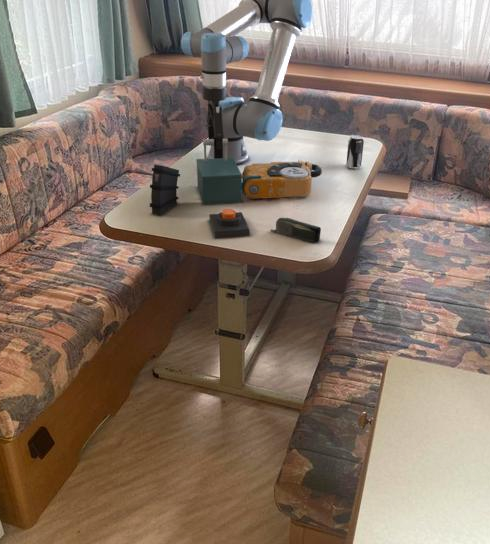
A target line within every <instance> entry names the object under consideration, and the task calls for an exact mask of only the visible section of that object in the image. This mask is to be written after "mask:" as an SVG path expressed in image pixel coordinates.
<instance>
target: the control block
mask: <svg viewBox="0 0 490 544" xmlns="http://www.w3.org/2000/svg"><path fill="white" fill-rule="evenodd" d="M235 212H236V217H235V218H234V219H224V218H222V211H221V212H219V213H209V215H208V217H209V219H208V220H209V223H210V224H209V225H210V227H211V230H212V233H213V235H214V239H223V238H236V237H237V238H238V237H248V236H250V228H249V226H248V223H247V221H246V219H245V216H244V214H243V212H242V211H238V212H237V211H235Z"/></svg>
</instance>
